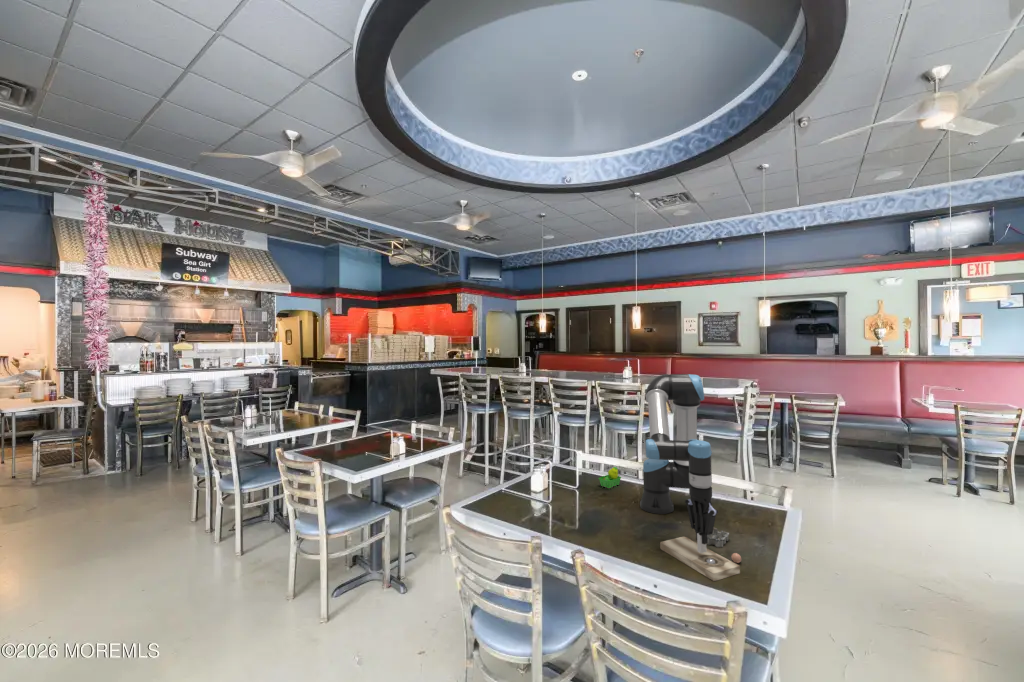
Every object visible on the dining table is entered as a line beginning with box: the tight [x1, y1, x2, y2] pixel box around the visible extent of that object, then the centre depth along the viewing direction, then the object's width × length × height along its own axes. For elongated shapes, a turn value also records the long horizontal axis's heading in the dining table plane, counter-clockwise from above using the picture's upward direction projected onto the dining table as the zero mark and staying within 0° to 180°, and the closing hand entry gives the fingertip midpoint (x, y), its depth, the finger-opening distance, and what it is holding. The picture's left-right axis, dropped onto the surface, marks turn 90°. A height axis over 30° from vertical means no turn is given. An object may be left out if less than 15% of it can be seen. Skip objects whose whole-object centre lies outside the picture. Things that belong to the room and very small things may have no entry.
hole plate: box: [659, 536, 741, 582], centre depth 155 cm, size 12×25×2 cm, turn 23°
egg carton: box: [706, 527, 730, 548], centre depth 170 cm, size 11×8×4 cm
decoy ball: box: [730, 552, 742, 564], centre depth 153 cm, size 3×3×3 cm
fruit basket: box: [598, 466, 622, 489], centre depth 237 cm, size 11×9×11 cm
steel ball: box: [706, 558, 716, 564], centre depth 150 cm, size 3×3×3 cm
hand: (702, 551), depth 153 cm, fingers closed
